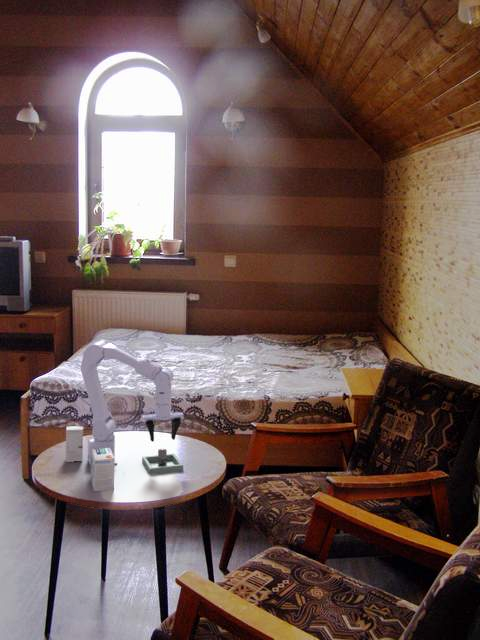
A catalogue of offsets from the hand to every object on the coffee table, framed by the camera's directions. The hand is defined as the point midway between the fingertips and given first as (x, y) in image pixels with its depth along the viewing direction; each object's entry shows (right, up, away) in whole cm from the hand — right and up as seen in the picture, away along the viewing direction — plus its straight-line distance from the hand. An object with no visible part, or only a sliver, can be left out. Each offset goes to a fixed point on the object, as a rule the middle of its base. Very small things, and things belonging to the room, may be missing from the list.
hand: (162, 439), depth 235 cm
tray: (0, -10, +1) cm, 10 cm away
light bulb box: (-18, -12, -16) cm, 27 cm away
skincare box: (-33, -8, +5) cm, 34 cm away
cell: (0, -10, +1) cm, 10 cm away
